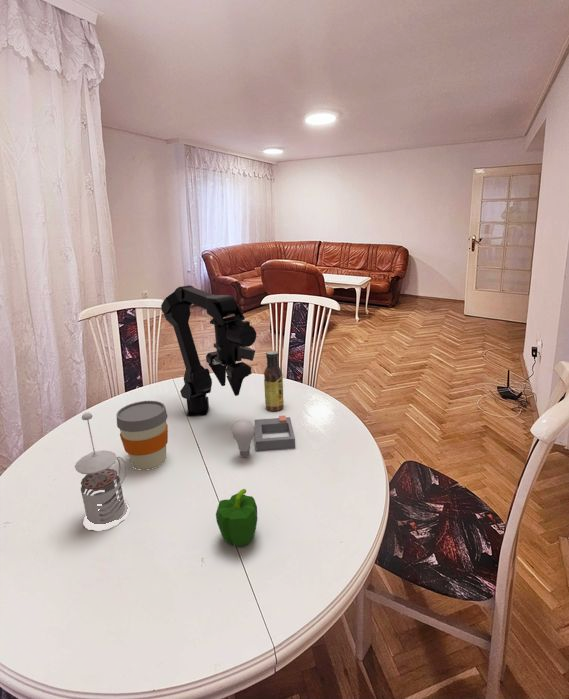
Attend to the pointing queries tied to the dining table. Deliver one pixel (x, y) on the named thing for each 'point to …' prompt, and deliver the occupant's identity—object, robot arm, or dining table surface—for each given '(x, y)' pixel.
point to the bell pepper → (237, 519)
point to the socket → (273, 427)
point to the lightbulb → (243, 436)
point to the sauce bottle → (273, 383)
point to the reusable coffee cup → (144, 433)
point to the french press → (101, 484)
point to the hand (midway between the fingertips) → (229, 390)
